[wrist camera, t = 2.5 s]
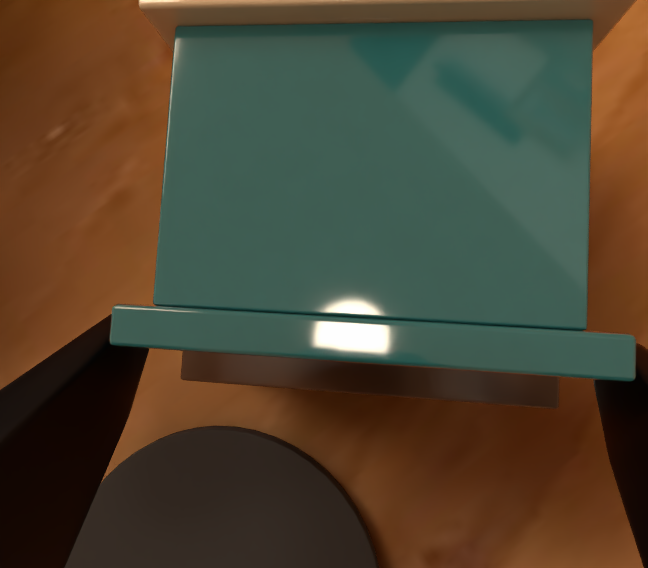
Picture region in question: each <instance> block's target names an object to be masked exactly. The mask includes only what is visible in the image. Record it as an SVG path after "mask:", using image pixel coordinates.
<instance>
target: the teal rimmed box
mask: <svg viewBox="0 0 648 568" xmlns="http://www.w3.org/2000/svg"><path fill="white" fill-rule="evenodd" d="M636 1H637V0H139V7H140V9H141V11H142V12H143V13H144V15H145V16H146V17H147V19H148V20H149V21H150V23H151V24H152V25H153V26H154V28H155V29H156V30H157V32H158V33H159V34H160V36H161V37H162V38H163V40H164V41H165V42H166V44H167V45H168V46H169V48H170V49H171V50H172V52H173V63H172V76H171V88H170V100H169V113H168V125H167V137H166V149H165V162H164V174H163V186H162V199H161V211H160V223H159V236H158V248H157V260H156V272H155V285H154V297H153V304H154V305H135V304H117V305H114V306H113V308H112V317H111V329H110V340H109V341H110V344H112V345H114V346H124V347H138V348H152V349H166V350H181V351H195V352H209V353H223V354H237V355H252V356H266V357H280V358H294V359H309V360H323V361H337V362H351V363H366V364H380V365H394V366H408V367H423V368H437V369H451V370H465V371H480V372H494V373H508V374H522V375H537V376H551V377H565V378H579V379H594V380H608V381H622V382H630V381H633V380H635V377H636V339H635V337H634V336H633V335H631V334H625V333H612V332H599V331H587V330H586V328H587V306H588V256H589V206H590V156H591V106H592V56H593V51H594V50H595V49H596V48H597V46H598V45H599V44H600V43H601V42H602V41H603V39H604V38H605V37H606V36H607V35H608V34H609V32H610V31H611V30H612V29H613V28H614V26H615V25H616V24H617V23H618V22H619V21H620V19H621V18H622V17H623V16H624V15H625V14H626V12H627V11H628V10H629V9H630V8H631V6H632V5H633V4H634V3H635V2H636Z"/></svg>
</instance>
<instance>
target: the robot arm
mask: <svg viewBox="0 0 648 568" xmlns="http://www.w3.org/2000/svg"><path fill="white" fill-rule="evenodd" d="M111 317H112V314H110V315H109V316H107V317H106V318H105V319H103V320H102V321H100V322H99V323H97V324H96V325H94V326H93V327H91V328H90V329H89V330H87V331H86V332H84V333H83V334H81V335H80V336H78V337H77V338H75V339H74V340H72V341H71V342H70V343H68V344H67V345H65V346H64V347H62V348H61V349H59V350H58V351H56V352H55V353H54V354H52V355H51V356H49V357H48V358H46V359H45V360H43V361H42V362H40V363H39V364H37V365H36V366H35V367H33V368H32V369H30V370H29V371H27V372H26V373H24V374H23V375H21V376H20V377H19V378H17V379H16V380H14V381H13V382H11V383H10V384H8V385H7V386H5V387H4V388H2V389H1V390H0V568H65V566H66V563H67V561H68V559H69V556H70V554H71V552H72V549H73V547H74V544H75V542H76V540H77V537H78V535H79V533H80V530H81V528H82V526H83V523H84V521H85V519H86V516H87V514H88V512H89V509H90V507H91V504H92V502H93V500H94V497H95V495H96V493H97V490H98V488H99V486H100V483H101V481H102V479H103V476H104V474H105V472H106V469H107V467H108V465H109V462H110V460H111V457H112V455H113V453H114V450H115V448H116V446H117V443H118V441H119V439H120V436H121V434H122V432H123V429H124V427H125V424H126V422H127V419H128V417H129V414H130V411H131V408H132V404H133V401H134V398H135V394H136V391H137V388H138V385H139V381H140V378H141V375H142V371H143V368H144V365H145V361H146V358H147V355H148V351H149V348H138V347H124V346H114V345H112V344H110V341H109V340H110V329H111ZM593 382H594V387H595V392H596V397H597V402H598V407H599V412H600V417H601V422H602V427H603V432H604V437H605V442H606V447H607V452H608V456H609V460H610V464H611V467H612V470H613V474H614V477H615V480H616V483H617V486H618V489H619V492H620V495H621V498H622V502H623V505H624V508H625V511H626V514H627V517H628V520H629V523H630V526H631V529H632V532H633V535H634V539H635V542H636V545H637V548H638V551H639V554H640V557H641V560H642V563H643V566H644V568H648V350H647V349H646V348H645V347H643V346H642V345H640V344H637V343H636V377H635V380H633V381H630V382H622V381H608V380H594V379H593Z"/></svg>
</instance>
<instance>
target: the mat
mask: <svg viewBox="0 0 648 568" xmlns="http://www.w3.org/2000/svg"><path fill="white" fill-rule="evenodd" d="M65 568H379V565H378V561H377V556H376V552H375V548H374V546H373V543H372V540H371V538H370V535H369V532H368V530H367V527H366V525H365V523H364V521H363V519H362V518H361V516H360V514H359V512H358V510H357V508H356V506H355V505H354V503H353V502H352V501H351V499H350V498H349V496H348V495H347V493H346V492H345V491H344V489H343V488H342V487H341V486H340V484H339V483H338V482H337V481H336V480H335V479H334V478H333V477H332V476H331V475H330V473H329V472H328V471H327V470H325V469H324V468H323V467H322V466H321V465H320V464H318V463H317V462H316V461H315V460H314V459H313V458H311V457H310V456H308V455H307V454H305V453H304V452H302V451H301V450H299V449H298V448H296V447H295V446H293V445H291V444H289V443H287V442H285V441H282V440H280V439H278V438H276V437H274V436H271V435H268V434H265V433H262V432H259V431H256V430H250V429H245V428H240V427H230V426H209V427H197V428H192V429H188V430H184V431H180V432H176V433H173V434H171V435H168V436H166V437H163V438H160V439H158V440H156V441H155V442H153V443H151V444H149V445H147V446H145V447H144V448H142V449H140V450H138V451H137V452H135V453H134V454H133V455H131V456H130V457H128V458H127V459H126V460H124V461H123V462H122V463H120V464H119V465H118V466H117V467H116V468H115V469H114V470H113V471H112V472H111V473H110V474H109V475H108V476H107V477H106V478H105V479H104V480H103V482H102V483H101V484H100V486H99V488H98V490H97V493H96V495H95V497H94V500H93V502H92V504H91V507H90V509H89V512H88V514H87V516H86V519H85V521H84V523H83V526H82V528H81V530H80V533H79V535H78V537H77V540H76V542H75V544H74V547H73V549H72V552H71V554H70V556H69V559H68V561H67V563H66V566H65Z"/></svg>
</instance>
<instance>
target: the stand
mask: <svg viewBox="0 0 648 568" xmlns="http://www.w3.org/2000/svg"><path fill="white" fill-rule="evenodd" d="M181 379H182V380H189V381H201V382H214V383H227V384H240V385H253V386H265V387H278V388H291V389H304V390H317V391H330V392H342V393H355V394H368V395H381V396H394V397H406V398H419V399H432V400H445V401H458V402H470V403H483V404H496V405H509V406H522V407H535V408H547V409H557V408H558V407H559V377H551V376H537V375H522V374H508V373H494V372H480V371H465V370H451V369H437V368H423V367H408V366H394V365H380V364H366V363H351V362H337V361H323V360H309V359H294V358H280V357H266V356H252V355H237V354H223V353H209V352H195V351H183V355H182V368H181Z"/></svg>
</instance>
